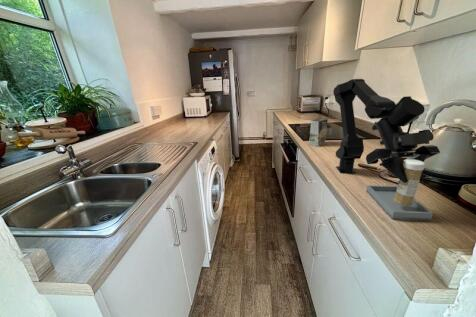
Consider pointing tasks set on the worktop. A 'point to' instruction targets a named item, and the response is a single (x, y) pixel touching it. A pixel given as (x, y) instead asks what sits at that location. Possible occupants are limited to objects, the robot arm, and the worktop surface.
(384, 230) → the worktop surface
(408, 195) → the sprinkles bottle
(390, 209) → the tray
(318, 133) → the coffee box
